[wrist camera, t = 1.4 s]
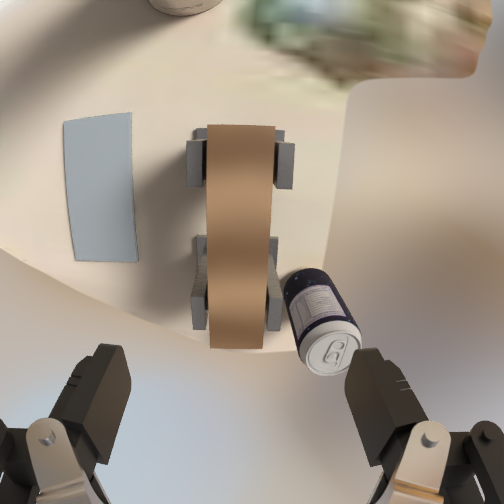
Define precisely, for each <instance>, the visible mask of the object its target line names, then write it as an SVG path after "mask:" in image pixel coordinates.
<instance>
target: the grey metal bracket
mask: <svg viewBox="0 0 504 504" xmlns="http://www.w3.org/2000/svg"><path fill="white" fill-rule="evenodd" d="M284 133H285V131H283V130H275V145H274V166H273V184H274V185H275V187H276V188H277V189H292V184H293V168H294V151H295V144H294V143H289V142H284ZM206 180H207V128H197V129H196V140H190V141H187V146H186V187H202V186H203V185H204V183H205V182H206Z"/></svg>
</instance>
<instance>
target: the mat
mask: <svg viewBox="0 0 504 504" xmlns="http://www.w3.org/2000/svg"><path fill="white" fill-rule="evenodd" d="M64 156H65V175H66V188H67V199H68V208H69V217H70V225H71V232H72V239H73V245H74V251H75V257H76V260H79V261H109V262H138V260H139V259H138V250H137V239H136V228H135V215H134V199H133V179H132V113H131V112H128V113H118V114H110V115H102V116H95V117H88V118H81V119H75V120H69V121H64Z"/></svg>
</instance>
